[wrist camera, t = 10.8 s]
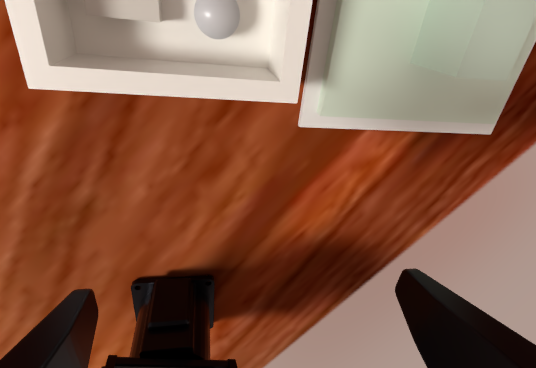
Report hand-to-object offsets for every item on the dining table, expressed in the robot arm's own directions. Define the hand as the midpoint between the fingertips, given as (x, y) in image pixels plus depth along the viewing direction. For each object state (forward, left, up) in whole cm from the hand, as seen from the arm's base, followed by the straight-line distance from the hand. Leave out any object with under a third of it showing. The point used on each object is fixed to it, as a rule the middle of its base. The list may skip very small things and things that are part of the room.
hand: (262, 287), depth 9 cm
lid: (+8, -12, -13) cm, 19 cm away
